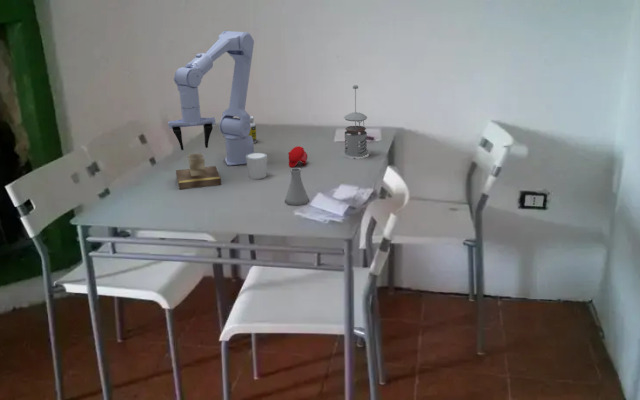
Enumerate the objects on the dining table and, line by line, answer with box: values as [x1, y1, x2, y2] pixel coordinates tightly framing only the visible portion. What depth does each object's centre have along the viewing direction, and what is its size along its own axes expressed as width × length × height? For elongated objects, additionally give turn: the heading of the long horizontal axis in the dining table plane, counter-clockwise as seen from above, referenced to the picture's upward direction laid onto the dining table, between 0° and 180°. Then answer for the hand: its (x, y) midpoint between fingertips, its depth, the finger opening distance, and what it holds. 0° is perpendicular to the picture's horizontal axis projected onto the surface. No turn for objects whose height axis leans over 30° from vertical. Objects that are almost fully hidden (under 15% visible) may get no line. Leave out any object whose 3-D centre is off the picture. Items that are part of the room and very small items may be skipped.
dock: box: [175, 165, 222, 190], centre depth 215 cm, size 13×13×2 cm
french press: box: [342, 84, 369, 157], centre depth 233 cm, size 10×12×25 cm
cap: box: [288, 145, 308, 169], centre depth 227 cm, size 8×6×6 cm
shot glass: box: [246, 152, 268, 180], centre depth 217 cm, size 7×7×7 cm
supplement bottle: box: [248, 115, 257, 144], centre depth 253 cm, size 5×5×10 cm
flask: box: [284, 167, 310, 206], centre depth 195 cm, size 7×7×10 cm
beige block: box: [187, 152, 206, 178], centre depth 214 cm, size 5×6×6 cm
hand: (194, 148), depth 213 cm, fingers open, 7 cm apart
